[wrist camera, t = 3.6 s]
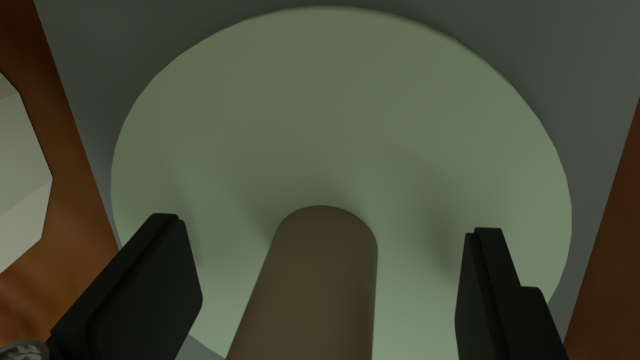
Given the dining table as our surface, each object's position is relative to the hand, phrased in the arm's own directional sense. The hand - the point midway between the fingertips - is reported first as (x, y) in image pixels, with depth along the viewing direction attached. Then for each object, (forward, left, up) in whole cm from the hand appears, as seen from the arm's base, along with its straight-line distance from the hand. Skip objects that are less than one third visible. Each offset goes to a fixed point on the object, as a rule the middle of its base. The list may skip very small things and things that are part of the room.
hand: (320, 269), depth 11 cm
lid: (0, 0, -2) cm, 2 cm away
